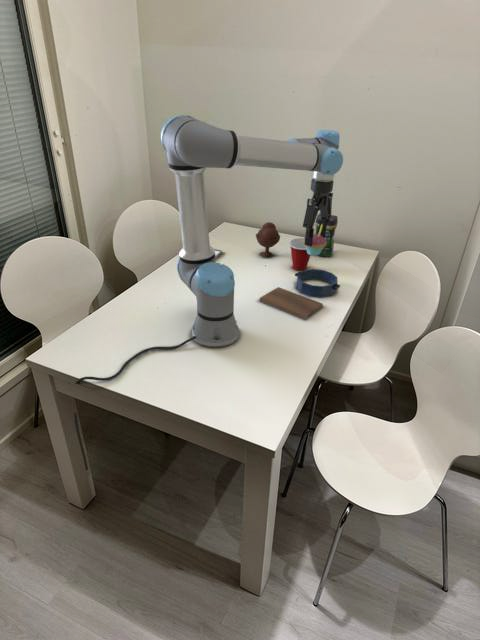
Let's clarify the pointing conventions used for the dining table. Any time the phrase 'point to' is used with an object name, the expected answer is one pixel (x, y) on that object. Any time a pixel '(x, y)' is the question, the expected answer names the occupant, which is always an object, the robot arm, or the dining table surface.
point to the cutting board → (291, 303)
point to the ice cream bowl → (267, 238)
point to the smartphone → (217, 252)
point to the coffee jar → (328, 235)
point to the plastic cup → (299, 254)
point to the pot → (313, 289)
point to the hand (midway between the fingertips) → (314, 241)
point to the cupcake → (316, 244)
